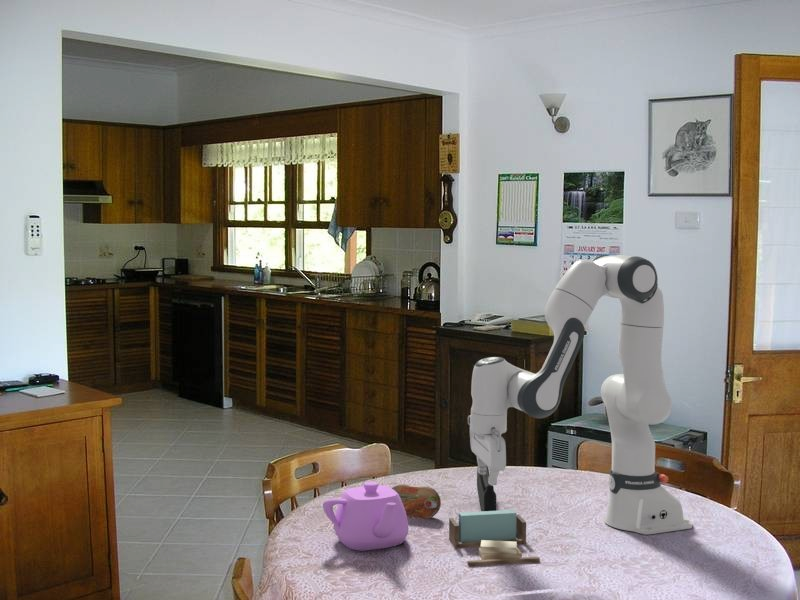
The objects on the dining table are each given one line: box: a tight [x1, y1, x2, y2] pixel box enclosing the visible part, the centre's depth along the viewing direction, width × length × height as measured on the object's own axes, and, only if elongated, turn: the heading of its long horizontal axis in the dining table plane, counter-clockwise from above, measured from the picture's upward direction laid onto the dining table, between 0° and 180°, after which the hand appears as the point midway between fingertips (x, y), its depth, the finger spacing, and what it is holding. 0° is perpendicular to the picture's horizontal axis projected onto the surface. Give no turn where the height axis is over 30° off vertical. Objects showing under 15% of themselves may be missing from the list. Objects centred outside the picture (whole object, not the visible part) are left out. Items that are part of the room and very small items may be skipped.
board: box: [458, 509, 517, 542], centre depth 218 cm, size 14×2×8 cm, turn 100°
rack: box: [448, 514, 541, 567], centre depth 213 cm, size 18×18×6 cm
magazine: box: [476, 466, 498, 512], centre depth 245 cm, size 17×3×30 cm
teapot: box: [322, 481, 409, 552], centre depth 215 cm, size 23×21×15 cm
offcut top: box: [479, 540, 518, 554], centre depth 209 cm, size 8×4×2 cm, turn 82°
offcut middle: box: [478, 547, 523, 560], centre depth 209 cm, size 9×5×2 cm, turn 100°
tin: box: [391, 483, 442, 520], centre depth 240 cm, size 15×3×8 cm, turn 68°
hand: (487, 479), depth 217 cm, fingers open, 8 cm apart
